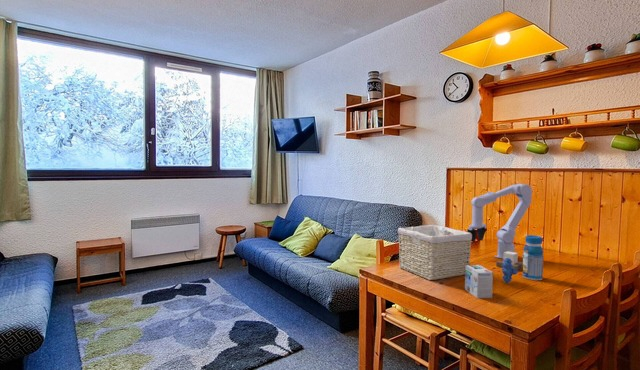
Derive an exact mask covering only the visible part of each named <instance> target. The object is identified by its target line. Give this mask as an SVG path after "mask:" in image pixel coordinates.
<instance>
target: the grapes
mask: <svg viewBox="0 0 640 370" xmlns="http://www.w3.org/2000/svg"><path fill="white" fill-rule="evenodd" d="M502 260H503V259H502ZM503 261H504V262H505V263H503V264H502V265H503V267H504V268H501V272H502V274H503V275H502V276H501V278H502V280H503V282H505V283H506V284H509V283H511V282H512V280H513V277H512V276H513V275H514V276H516V275H517V274H518V273H519V270H518V271H517V270H516V269H515V268H512V267H513V265H512V264H511V263H512V261H511V259H509V258H505V259H504V260H503Z"/></svg>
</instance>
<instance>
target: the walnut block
mask: <svg viewBox="0 0 640 370" xmlns="http://www.w3.org/2000/svg"><path fill="white" fill-rule="evenodd" d="M503 263H505V262H503V259H502V260H499V261H496V265H495V266H496V267H497V268H501V269H502V268H504V267H503V265H502V264H503ZM512 265H513V267H512V268H515V269H516V270H517V271H518V272H519V271H520V270H523V261H518V260H517V263H515V264H512Z"/></svg>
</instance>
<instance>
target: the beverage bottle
mask: <svg viewBox="0 0 640 370" xmlns="http://www.w3.org/2000/svg"><path fill="white" fill-rule="evenodd" d="M525 243H526V244H525V245H524V247H523V248H522V249H523V253H522V263H523V269H522V277H523V278H524V279H527V280H531V281H541V280H542V279H543V278H544V277H543V274H544V273H543V272H544V271H543V269H544V255H543V254H544V249H543V246H542V244H543V237H542V236H539V235H533V234H531V235H530V234H526V235H525Z"/></svg>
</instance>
